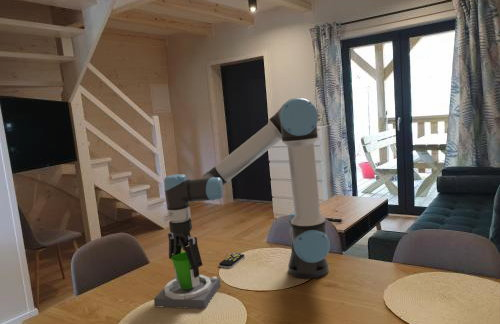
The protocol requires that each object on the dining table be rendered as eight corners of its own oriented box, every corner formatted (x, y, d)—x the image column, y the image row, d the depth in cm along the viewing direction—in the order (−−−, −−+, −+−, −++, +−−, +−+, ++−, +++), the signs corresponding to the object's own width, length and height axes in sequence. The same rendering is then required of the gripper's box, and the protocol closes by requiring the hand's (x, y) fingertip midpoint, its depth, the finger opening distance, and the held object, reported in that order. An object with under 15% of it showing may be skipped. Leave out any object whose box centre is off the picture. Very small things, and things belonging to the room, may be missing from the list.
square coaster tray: (220, 285, 134) (219, 274, 134) (205, 308, 119) (203, 296, 118) (175, 284, 139) (174, 274, 138) (155, 306, 123) (153, 295, 123)
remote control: (218, 267, 152) (217, 263, 152) (233, 256, 163) (233, 251, 163) (230, 269, 149) (230, 264, 149) (245, 257, 160) (245, 253, 160)
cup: (206, 283, 129) (202, 253, 127) (185, 294, 122) (181, 263, 121) (190, 277, 135) (186, 249, 133) (169, 287, 128) (165, 257, 127)
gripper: (153, 218, 130) (161, 278, 133) (190, 227, 115) (198, 294, 118) (171, 213, 136) (178, 271, 138) (208, 220, 120) (215, 285, 123)
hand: (187, 281), depth 128 cm, fingers closed on cup, 9 cm apart
